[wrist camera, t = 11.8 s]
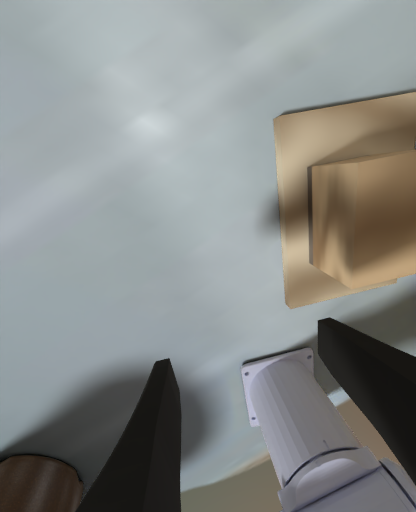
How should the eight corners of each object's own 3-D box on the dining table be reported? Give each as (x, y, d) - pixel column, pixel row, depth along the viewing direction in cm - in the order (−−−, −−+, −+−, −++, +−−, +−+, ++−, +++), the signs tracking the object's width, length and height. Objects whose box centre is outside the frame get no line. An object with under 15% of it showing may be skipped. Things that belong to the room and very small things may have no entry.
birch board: (387, 278, 23) (396, 282, 22) (285, 303, 22) (290, 309, 21) (408, 95, 17) (422, 90, 16) (273, 119, 16) (279, 115, 15)
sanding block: (361, 251, 20) (418, 272, 15) (309, 263, 20) (351, 289, 15) (367, 155, 17) (439, 146, 13) (307, 167, 17) (358, 162, 12)
